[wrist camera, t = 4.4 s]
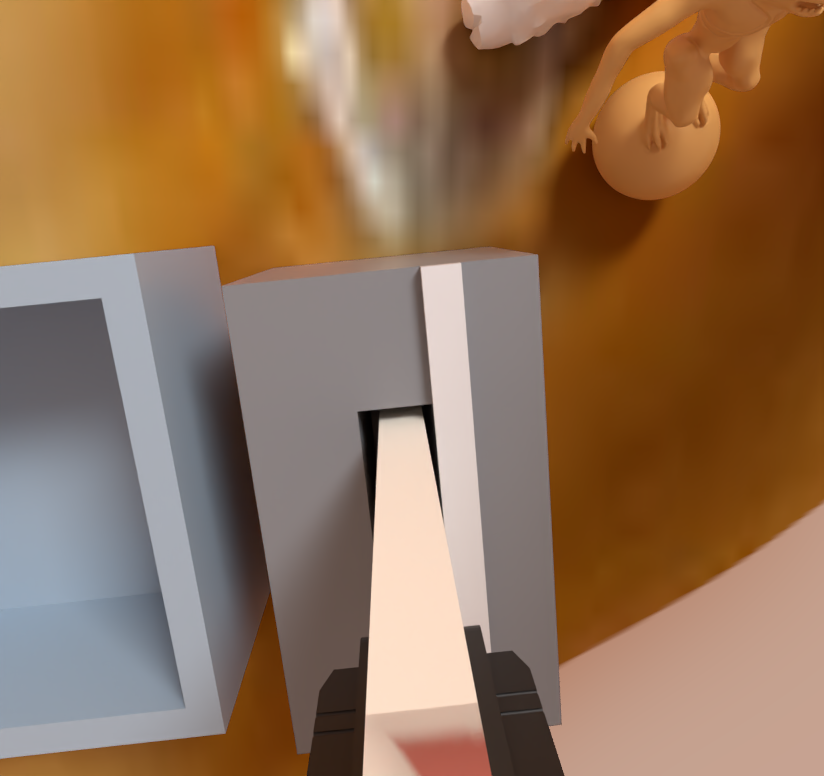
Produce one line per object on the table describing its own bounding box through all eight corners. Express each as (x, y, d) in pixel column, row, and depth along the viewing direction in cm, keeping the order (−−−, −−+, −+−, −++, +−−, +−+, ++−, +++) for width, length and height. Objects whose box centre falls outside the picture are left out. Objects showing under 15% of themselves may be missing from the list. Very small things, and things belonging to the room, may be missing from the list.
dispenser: (273, 268, 24) (217, 287, 16) (489, 246, 25) (541, 255, 16) (321, 606, 28) (295, 764, 20) (511, 586, 28) (564, 734, 20)
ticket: (380, 399, 20) (355, 939, 5) (419, 394, 20) (519, 920, 5) (400, 575, 22) (432, 1439, 6) (437, 571, 22) (559, 1421, 6)
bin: (214, 245, 24) (133, 253, 16) (270, 590, 27) (225, 733, 20) (-175, 284, 24) (-444, 310, 16) (-72, 627, 27) (-254, 786, 19)
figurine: (554, 251, 25) (706, 271, 13) (479, 99, 23) (573, -31, 12) (758, 137, 24) (1110, 50, 12) (692, -26, 23) (1018, -295, 11)
